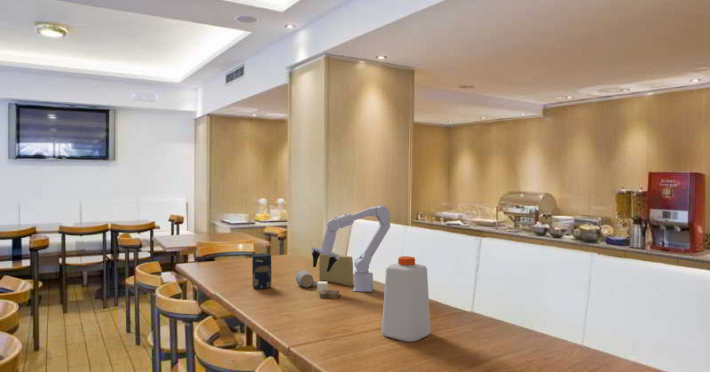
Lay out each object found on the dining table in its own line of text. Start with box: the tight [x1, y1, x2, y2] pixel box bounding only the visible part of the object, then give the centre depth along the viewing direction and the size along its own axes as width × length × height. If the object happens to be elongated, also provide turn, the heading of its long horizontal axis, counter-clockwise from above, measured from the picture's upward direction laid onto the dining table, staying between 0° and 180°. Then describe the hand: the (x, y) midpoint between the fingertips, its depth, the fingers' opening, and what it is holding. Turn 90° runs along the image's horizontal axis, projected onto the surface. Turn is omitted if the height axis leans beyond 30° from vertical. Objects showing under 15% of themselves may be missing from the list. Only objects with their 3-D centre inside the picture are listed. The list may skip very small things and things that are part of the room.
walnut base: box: [319, 289, 340, 300], centre depth 228 cm, size 8×8×2 cm
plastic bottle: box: [381, 255, 432, 343], centre depth 173 cm, size 15×15×28 cm
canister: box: [251, 252, 272, 290], centre depth 244 cm, size 10×10×18 cm
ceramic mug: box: [295, 269, 318, 289], centre depth 248 cm, size 11×8×8 cm
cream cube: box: [316, 280, 329, 293], centre depth 237 cm, size 4×4×4 cm
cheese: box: [318, 251, 354, 287], centre depth 257 cm, size 22×10×15 cm, turn 42°
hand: (321, 269), depth 238 cm, fingers open, 7 cm apart
